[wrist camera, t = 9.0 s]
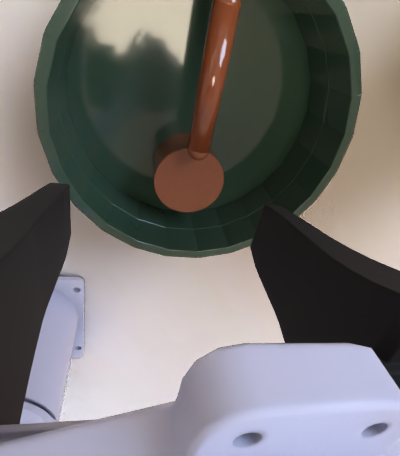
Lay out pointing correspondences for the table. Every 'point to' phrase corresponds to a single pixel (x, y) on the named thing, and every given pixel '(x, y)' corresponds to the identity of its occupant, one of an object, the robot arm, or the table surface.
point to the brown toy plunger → (199, 124)
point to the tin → (183, 110)
